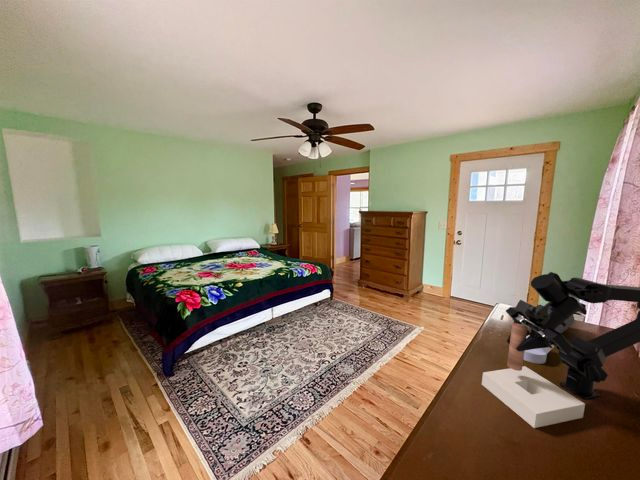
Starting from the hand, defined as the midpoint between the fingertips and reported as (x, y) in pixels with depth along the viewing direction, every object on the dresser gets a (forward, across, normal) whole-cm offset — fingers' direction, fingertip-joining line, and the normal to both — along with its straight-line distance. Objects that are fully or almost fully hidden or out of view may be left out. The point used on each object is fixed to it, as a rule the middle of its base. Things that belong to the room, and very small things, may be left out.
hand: (512, 346), depth 76 cm
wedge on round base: (-5, -19, +25) cm, 32 cm away
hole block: (+8, +5, +11) cm, 15 cm away
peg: (+4, 0, +6) cm, 7 cm away
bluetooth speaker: (-20, -35, +40) cm, 57 cm away
